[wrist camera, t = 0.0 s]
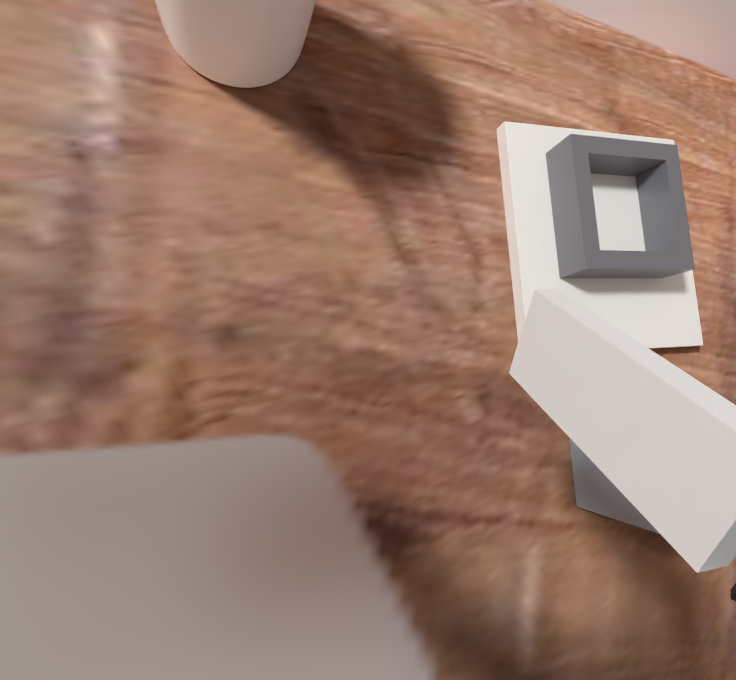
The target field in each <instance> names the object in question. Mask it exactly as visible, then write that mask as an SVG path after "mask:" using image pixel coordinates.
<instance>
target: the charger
mask: <svg viewBox="0 0 736 680" xmlns="http://www.w3.org/2000/svg"><path fill="white" fill-rule="evenodd" d="M569 440H570V450H571V459H572V468H573V477H574V486H575V495H576V504H577V507H580V508H583V509H586V510H589V511H592V512H595V513H598V514H601V515H604V516H607V517H610V518H613V519H616V520H619V521H622V522H625V523H628V524H631V525H634V526H637V527H640V528H643V529H646V530H649V531H652V532H655V533H658V534H660V533H659V532H658V531H657V530H656V529H655V528H654V527H653V526H652V524H651V523H650V522H649V521H648V520H647V519H646V518H645V517H644V516H643V515H642V514H641V513H640V512H639V511H638V510H637V509H636V507H635V506H634V505H633V504H632V503H631V502H630V501H629V500H628V499H627V498H626V497H625V496H624V495H623V494H622V493H621V492H620V490H619V489H618V488H617V487H616V486H615V485H614V484H613V483H612V482H611V481H610V480H609V479H608V478H607V477H606V476H605V475H604V473H603V472H602V471H601V470H600V469H599V468H598V467H597V466H596V465H595V464H594V463H593V462H592V461H591V460H590V459H589V458H588V456H587V455H586V454H585V453H584V452H583V451H582V450H581V449H580V448H579V447H578V446H577V445H576V444H575V443H574V442H573V441H572V439H571V438H569Z"/></svg>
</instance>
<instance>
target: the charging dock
mask: <svg viewBox="0 0 736 680" xmlns="http://www.w3.org/2000/svg"><path fill="white" fill-rule="evenodd" d="M497 140H498V149H499V159H500V169H501V179H502V189H503V199H504V208H505V218H506V228H507V238H508V248H509V258H510V267H511V277H512V287H513V297H514V307H515V317H516V326H517V336H518V342H519V339H520V336H521V332H522V329H523V326H524V322H525V319H526V316H527V313H528V309H529V306H530V303H531V299H532V296H533V293H534V290H535V289H558V290H560V291H562V292H563V293H565V294H566V295H568V296H569V297H571V298H572V299H574V300H575V301H577V302H578V303H580V304H581V305H583V306H584V307H586V308H588V309H589V310H591V311H592V312H594V313H595V314H597V315H598V316H600V317H601V318H603V319H604V320H606V321H607V322H609V323H610V324H612V325H614V326H615V327H617V328H618V329H620V330H621V331H623V332H624V333H626V334H627V335H629V336H630V337H632V338H633V339H635V340H636V341H638V342H640V343H641V344H643V345H644V346H646V347H647V348H649V349H654V348H673V347H691V346H700V345H703V340H702V333H701V326H700V319H699V312H698V305H697V298H696V291H695V284H694V277H693V270H694V269H695V268H694V261H693V254H692V247H691V240H690V233H689V226H688V219H687V212H686V205H685V198H684V191H683V184H682V177H681V170H680V163H679V156H678V149H677V145H675V144H674V140H669V139H660V138H651V137H641V136H632V135H623V134H614V133H605V132H596V131H587V130H578V129H569V128H560V127H551V126H542V125H533V124H524V123H514V122H505V121H504V122H503V123H502V124H501V125H500V126H499V127H498V129H497Z"/></svg>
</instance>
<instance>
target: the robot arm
mask: <svg viewBox="0 0 736 680" xmlns="http://www.w3.org/2000/svg"><path fill="white" fill-rule="evenodd" d="M509 374H510V375H511V376H512V377H513V378H514V379H515V380H516V381H517V382H518V383H519V384H520V385H521V386H522V387H523V388H524V390H525V391H526V392H527V393H528V394H529V395H530V396H531V397H532V398H533V399H534V400H535V401H536V402H537V403H538V404H539V405H540V407H541V408H542V409H543V410H544V411H545V412H546V413H547V414H548V415H549V416H550V417H551V418H552V419H553V420H554V421H555V422H556V424H557V425H558V426H559V427H560V428H561V429H562V430H563V431H564V432H565V433H566V434H567V435H568V436H569V437H570V438H571V439H572V441H573V442H574V443H575V444H576V445H577V446H578V447H579V448H580V449H581V450H582V451H583V452H584V453H585V454H586V455H587V456H588V458H589V459H590V460H591V461H592V462H593V463H594V464H595V465H596V466H597V467H598V468H599V469H600V470H601V471H602V472H603V473H604V475H605V476H606V477H607V478H608V479H609V480H610V481H611V482H612V483H613V484H614V485H615V486H616V487H617V488H618V489H619V490H620V492H621V493H622V494H623V495H624V496H625V497H626V498H627V499H628V500H629V501H630V502H631V503H632V504H633V505H634V506H635V507H636V509H637V510H638V511H639V512H640V513H641V514H642V515H643V516H644V517H645V518H646V519H647V520H648V521H649V522H650V523H651V524H652V526H653V527H654V528H655V529H656V530H657V531H658V532H659V533H660V534H661V535H662V536H663V537H664V538H665V539H666V540H667V541H668V543H669V544H670V545H671V546H672V547H673V548H674V549H675V550H676V551H677V552H678V553H679V554H680V555H681V556H682V557H683V558H684V560H685V561H686V562H687V563H688V564H689V565H690V566H691V567H692V568H693V569H694V570H695V571H696V572H697V573H699V572H704V571H708V570H712V569H716V568H720V567H725V566H728V565H729V564H730V563H731V561H732V560H733V559H734V557H735V556H736V405H734V404H733V403H731V402H730V401H728V400H727V399H725V398H724V397H722V396H721V395H719V394H718V393H716V392H714V391H713V390H711V389H710V388H708V387H707V386H705V385H704V384H702V383H701V382H699V381H698V380H696V379H695V378H693V377H692V376H690V375H688V374H687V373H685V372H684V371H682V370H681V369H679V368H678V367H676V366H675V365H673V364H672V363H670V362H669V361H667V360H666V359H664V358H662V357H661V356H659V355H658V354H656V353H655V352H653V351H652V350H650V349H649V348H647V347H646V346H644V345H643V344H641V343H640V342H638V341H636V340H635V339H633V338H632V337H630V336H629V335H627V334H626V333H624V332H623V331H621V330H620V329H618V328H617V327H615V326H614V325H612V324H610V323H609V322H607V321H606V320H604V319H603V318H601V317H600V316H598V315H597V314H595V313H594V312H592V311H591V310H589V309H588V308H586V307H584V306H583V305H581V304H580V303H578V302H577V301H575V300H574V299H572V298H571V297H569V296H568V295H566V294H565V293H563V292H562V291H560V290H558V289H535V290H534V293H533V296H532V299H531V303H530V306H529V309H528V313H527V316H526V319H525V322H524V326H523V329H522V332H521V336H520V339H519V342H518V345H517V349H516V352H515V355H514V359H513V362H512V365H511V368H510V372H509ZM731 599H732V600H734V601H736V584H735V585H734V586H733V587H732V589H731Z"/></svg>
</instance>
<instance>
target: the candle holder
mask: <svg viewBox="0 0 736 680" xmlns="http://www.w3.org/2000/svg"><path fill="white" fill-rule="evenodd" d="M155 3H156V6H157V10H158V13H159V16H160V19H161V22H162V25H163V28H164V31H165V33H166V35H167V38H168V39H169V41H170V43H171V45H172V46H173V48H174V49H175V51H176V52H177V53H178V55H179V56H180V57H181V58H182V59H183V60H184V61H185V62H186V63H187V64H188V65H189V66H190V67H191V68H193V69H194V70H195V71H197V72H198V73H200V74H201V75H203V76H205V77H206V78H208V79H210V80H213V81H215V82H218V83H220V84H224V85H227V86H232V87H239V88H253V87H260V86H264V85H268V84H270V83H273V82H275V81H277V80H279V79H280V78H282V77H283V76H284V75H286V74H287V73H288V72H289V71H290V70H291V69H292V68H293V66H294V65H295V63H296V62H297V60H298V58H299V56H300V54H301V51H302V48H303V45H304V42H305V39H306V35H307V32H308V28H309V25H310V21H311V18H312V14H313V10H314V7H315V3H316V0H155Z"/></svg>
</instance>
